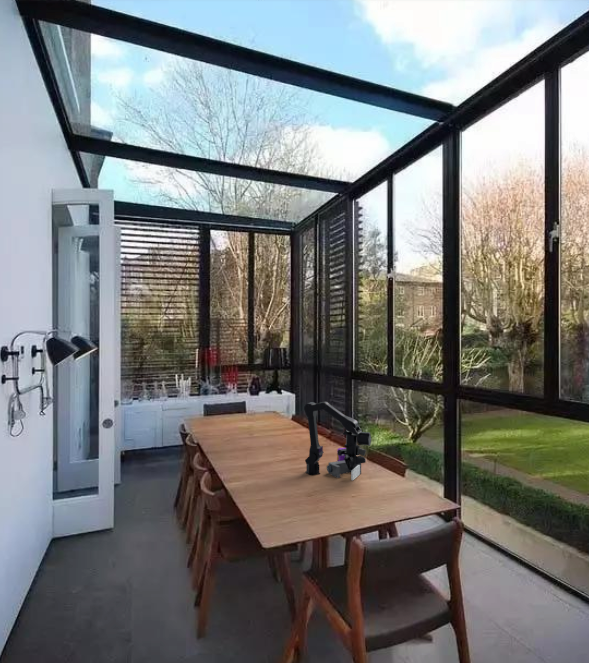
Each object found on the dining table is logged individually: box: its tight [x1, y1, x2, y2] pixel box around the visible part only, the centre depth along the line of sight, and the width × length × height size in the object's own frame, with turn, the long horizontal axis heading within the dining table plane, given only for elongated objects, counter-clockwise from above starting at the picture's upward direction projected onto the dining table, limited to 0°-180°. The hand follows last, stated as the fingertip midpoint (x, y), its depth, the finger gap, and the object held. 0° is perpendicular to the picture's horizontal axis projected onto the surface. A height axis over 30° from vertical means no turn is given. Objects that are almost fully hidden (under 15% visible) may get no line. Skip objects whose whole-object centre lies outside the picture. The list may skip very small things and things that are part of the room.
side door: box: [350, 465, 361, 481], centre depth 232 cm, size 11×1×5 cm, turn 153°
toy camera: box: [336, 447, 346, 461], centre depth 254 cm, size 11×14×10 cm
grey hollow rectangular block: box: [326, 460, 362, 479], centre depth 239 cm, size 17×9×6 cm, turn 117°
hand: (350, 471), depth 231 cm, fingers closed
